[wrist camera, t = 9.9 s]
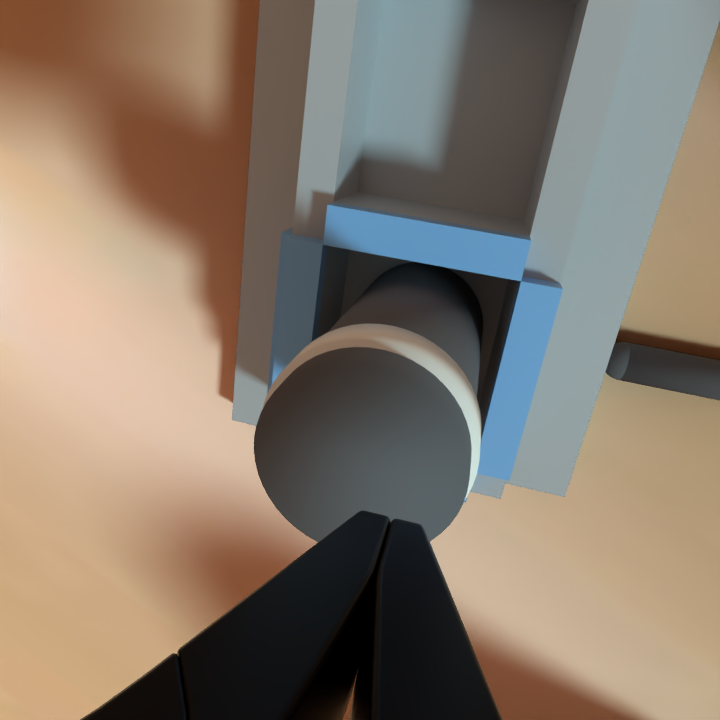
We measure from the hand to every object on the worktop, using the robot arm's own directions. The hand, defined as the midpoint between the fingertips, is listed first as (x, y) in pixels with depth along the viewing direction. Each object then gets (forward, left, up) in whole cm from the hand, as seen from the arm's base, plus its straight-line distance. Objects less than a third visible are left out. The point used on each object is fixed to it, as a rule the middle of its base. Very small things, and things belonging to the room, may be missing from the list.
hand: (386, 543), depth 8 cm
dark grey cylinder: (+1, +1, -12) cm, 12 cm away
